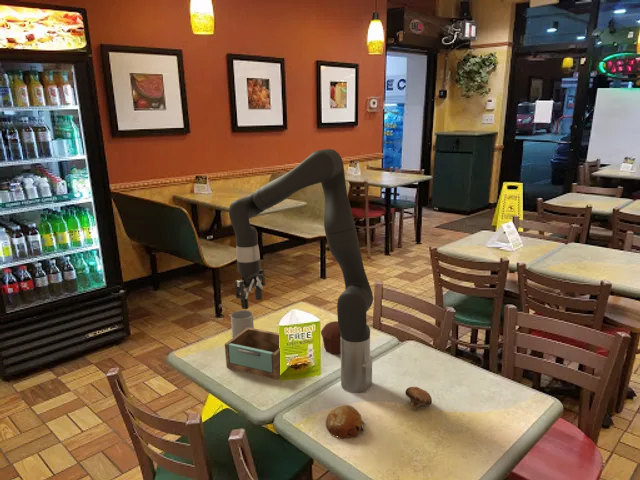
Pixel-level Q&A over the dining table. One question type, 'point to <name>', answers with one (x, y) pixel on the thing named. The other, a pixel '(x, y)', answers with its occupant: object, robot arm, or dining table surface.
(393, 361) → the dining table surface
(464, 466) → the dining table surface
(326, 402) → the dining table surface
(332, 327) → the muffin
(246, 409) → the dining table surface
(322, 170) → the robot arm
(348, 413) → the bread roll
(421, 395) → the mushroom
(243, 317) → the cup
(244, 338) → the box
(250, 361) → the panel
